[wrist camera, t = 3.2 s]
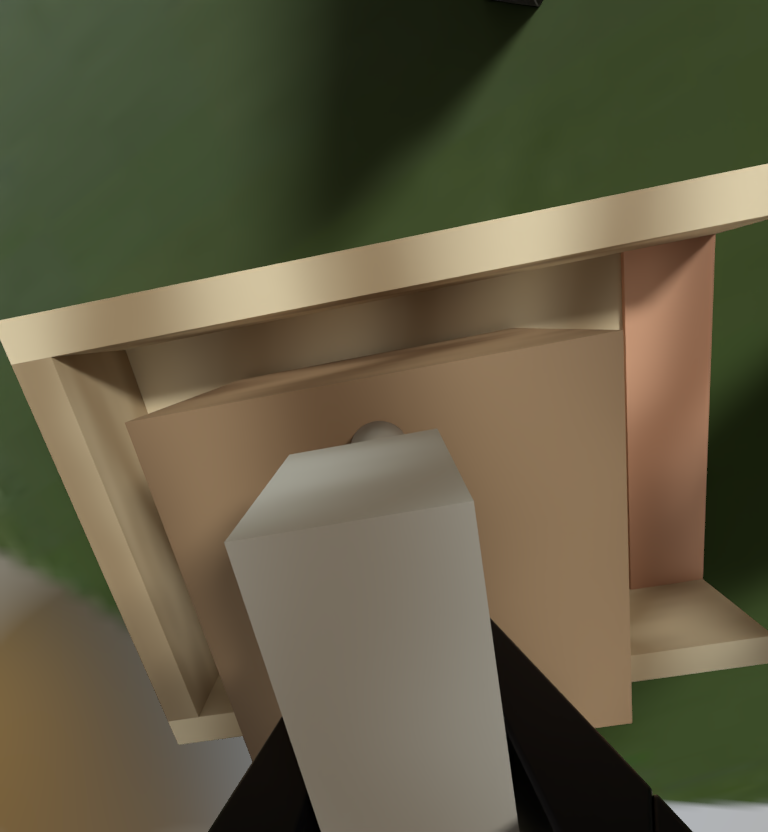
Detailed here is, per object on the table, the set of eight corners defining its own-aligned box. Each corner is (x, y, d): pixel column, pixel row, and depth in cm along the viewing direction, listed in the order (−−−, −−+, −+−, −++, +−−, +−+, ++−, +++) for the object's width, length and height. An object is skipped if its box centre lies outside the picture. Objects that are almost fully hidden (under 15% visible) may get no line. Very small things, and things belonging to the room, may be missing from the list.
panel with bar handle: (513, 327, 13) (1046, 338, 2) (536, 569, 15) (854, 1080, 5) (240, 379, 13) (-264, 567, 3) (305, 605, 16) (151, 1139, 5)
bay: (687, 205, 13) (820, 152, 9) (680, 583, 17) (770, 662, 13) (102, 323, 14) (-8, 322, 10) (224, 652, 18) (178, 744, 14)
